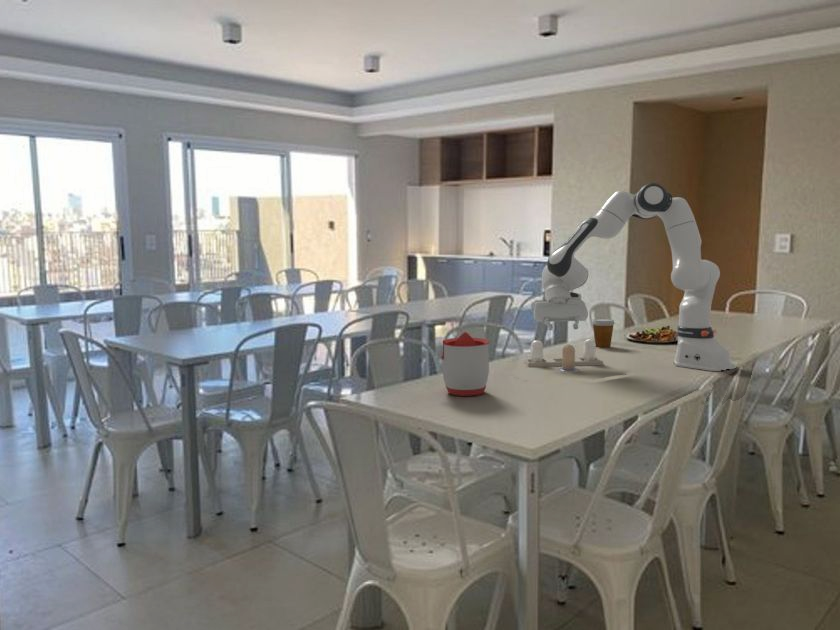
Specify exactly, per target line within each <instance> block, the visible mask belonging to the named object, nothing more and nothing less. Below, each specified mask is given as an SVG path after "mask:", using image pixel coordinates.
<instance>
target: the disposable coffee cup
mask: <svg viewBox="0 0 840 630" xmlns="http://www.w3.org/2000/svg"><path fill="white" fill-rule="evenodd" d="M591 324H592V325H593V326H592V327H593V337H594V341H595V344H596V348H597V347H600V348H599V349H608V348H611V346H612V345H611V344H612V338H613V331H614V325H615V324H616V323H615V320H614V319H613V318H606V317H603V318H602V317H601V318H599V317H598V318H594V319H592V321H591Z"/></svg>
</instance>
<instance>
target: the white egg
mask: <svg viewBox="0 0 840 630" xmlns="http://www.w3.org/2000/svg"><path fill="white" fill-rule="evenodd" d="M543 348H544V345H543V342H542V341H541V340H533V341H532V342H531V344H530V359H531V362H543V359H544V356H543V355H544V349H543Z"/></svg>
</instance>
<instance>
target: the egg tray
mask: <svg viewBox="0 0 840 630" xmlns="http://www.w3.org/2000/svg"><path fill="white" fill-rule="evenodd" d="M523 365H525V366H526V367H527V368H537V367H562V357H560V358H559V357H557V358H556V357H555V358H552V357H551V358H543V362H531V358H524V361H523ZM604 365H605V364H604V360H603V359H601V358H599V357H598V356H597V357H596V356H595V361H583V357H575V367H576V366H578V367H579V366H604Z"/></svg>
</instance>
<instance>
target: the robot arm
mask: <svg viewBox="0 0 840 630" xmlns="http://www.w3.org/2000/svg"><path fill="white" fill-rule="evenodd" d="M656 216H657V217H659V218H660V220H661V221H662V223H663V226H664V229H665V233H666V236H667V240H668V244H669V246H670V251H671V258H672V270H671V274H670V279H671V280H670V281H671V283H672V284H673V287H675V288H676V289H678V290H680V291H681V290H682V291H684V294H683V298H682V299H681V302H680V304H679V307H678V309H679V310H678V325H677V331H676V332H677V335H678V341H677V345H676V346H677V347H676V351H675V356H674V358H673V363H674V364H675V365H674V366H675V367H681V368H689V369H694V370H695V369H697V370H702V371H709V372H711V371H712V372H721V370H724V371H727V370H726V369H730V370H734V369H736V368H737V363H734V362H731V358H730V357H731V356H730V353H729V350H728V349H727V348H726V347H725V346H724V345H723V344H721V343H720V342H719V340H717V339H716V338H715V334H716V333H717V331H718V330H717V329H714V330H713V328H712V327H711V315H712V312H711V311H712V303H713V299H714V295H715V294H714V293H715V290H716V286H717V284H718V283H717V282H718V280H719V279H720V276H721V271H720V268H719V266H718V265H717V264H716V263H715V262H712V261H710V260H709V259H702V254H701V253H702V252H701V249H702V248H701V245H702V244H703V243H702V238H701V234H700V231H699V228H698V225H697V221H696V219H695V216H694V213H693V211H692V209H691V207H690V205H689V203H688V202H687V200H686V199H685V198H683V197H678V196H677V197H673V195H672V194H671V193H670V192H669V191H667V189H666V188H665V187H664V186H663V185H661V184H659V183H655V182H652V183H651V182H650V183H647V184H645V185H643V186H642V187H641V188H640V189H639V190H638V192H637V193H634V194H633V193H630V192H629V191H626V190H621V189H619V190H617V191H615V192H613V194H612V195H611V196H610V197H609V198H607V200H606V201H605V202H604V203H603V205H602V206H601V207H600V209H599V210H598V211H597V213H596V214H595V215H593V216H592V217H588V218H585V220H584V221H582V222H581V223H580V224H579V225H578V227H576V229H575V230H574V231H573V232H572V233H571V234H570V235H569V236H568V237H567V238H566V239H565V241H564V242H563V243H562V244H560V246H559V247H557V248H556V249H555V250H554V251H553V252H552V253H551V254H550V255H549V256H548V258H547V263H546V265H545V266H544V267H543V269H542V271H541V272H542V273H541V283H542V288H543V290H544V299H541V300H540V299H539V300H538V299H536V300H534V301H532V302H531V304H530V305H531V309H532V310H533V312H532V313H533V320H534V321H535V323H543V324H544V325H545V326H546V327H547V330H548V331H553V329H554V325H553V323H551V322H555V323H556V322H574V323H573V324H572V327H573V330H579V323H580V322H581V321H582V322H583V321H584V322H585V321H586V320H587V319H588V316H589V311H588V308H587V305H586V303H585V301H584V300H583V299H582V294H580V293H577V292H573V290H575V289H579V288H580V287H582V286H584V285H585V284H586V282H587V280H588V279H589V278H588V277H589V270H588V268H587V267H585V265H584V264H582V262H580V261H579V260H578V259H577V258H575V255H576V253H577V251H578V250H579V249H580V248H581V247H582V246H583V245H584V243H586V242H587V240H588V239H590V238H592V237H595V238H600V239H603V240H604V239H607V240H608V239H613V238H615V237H616V236H617V235H618V234H620V232H621V231H622V229H623V228H624V226H626V224H627V222H628V221H629V220H630V218H631V217H634V218H638V219H641V220H650V219H653V218H655V217H656Z"/></svg>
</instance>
